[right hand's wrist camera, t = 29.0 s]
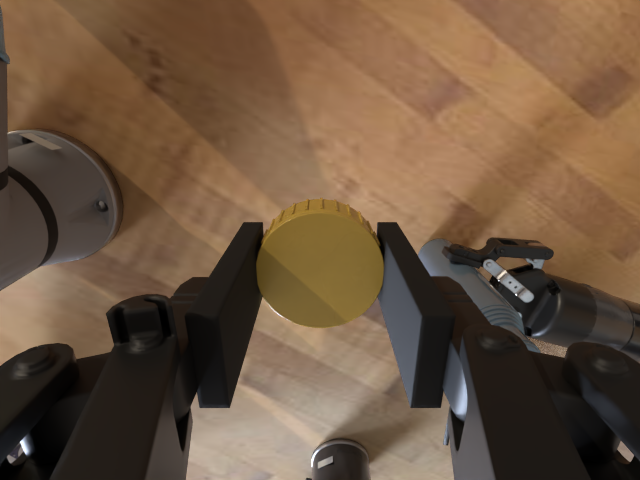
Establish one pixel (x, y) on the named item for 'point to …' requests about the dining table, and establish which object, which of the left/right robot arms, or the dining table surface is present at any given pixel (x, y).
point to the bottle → (474, 289)
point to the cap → (320, 264)
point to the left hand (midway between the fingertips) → (434, 275)
